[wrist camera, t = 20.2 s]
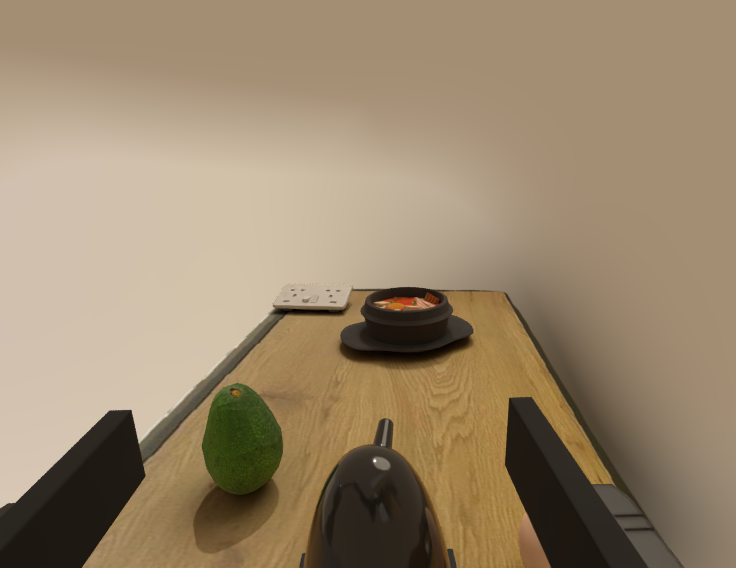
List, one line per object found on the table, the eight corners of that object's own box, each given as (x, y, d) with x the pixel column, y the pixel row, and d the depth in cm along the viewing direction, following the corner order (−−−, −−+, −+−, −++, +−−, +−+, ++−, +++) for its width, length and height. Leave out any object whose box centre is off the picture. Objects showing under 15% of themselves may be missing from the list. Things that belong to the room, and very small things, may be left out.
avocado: (198, 515, 43) (179, 407, 39) (224, 461, 50) (210, 367, 47) (279, 513, 42) (266, 405, 39) (293, 459, 50) (283, 365, 47)
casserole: (449, 316, 93) (449, 278, 91) (491, 351, 75) (493, 306, 73) (334, 330, 88) (331, 290, 86) (350, 371, 70) (348, 323, 68)
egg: (626, 596, 33) (640, 512, 31) (569, 644, 30) (580, 554, 28) (552, 534, 39) (560, 459, 37) (498, 569, 36) (503, 490, 34)
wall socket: (354, 292, 109) (352, 277, 107) (352, 322, 95) (350, 306, 93) (282, 298, 109) (279, 284, 107) (269, 329, 95) (266, 313, 94)
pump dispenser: (455, 580, 34) (458, 411, 30) (451, 748, 25) (455, 534, 20) (332, 560, 36) (319, 400, 32) (283, 707, 27) (256, 505, 23)
